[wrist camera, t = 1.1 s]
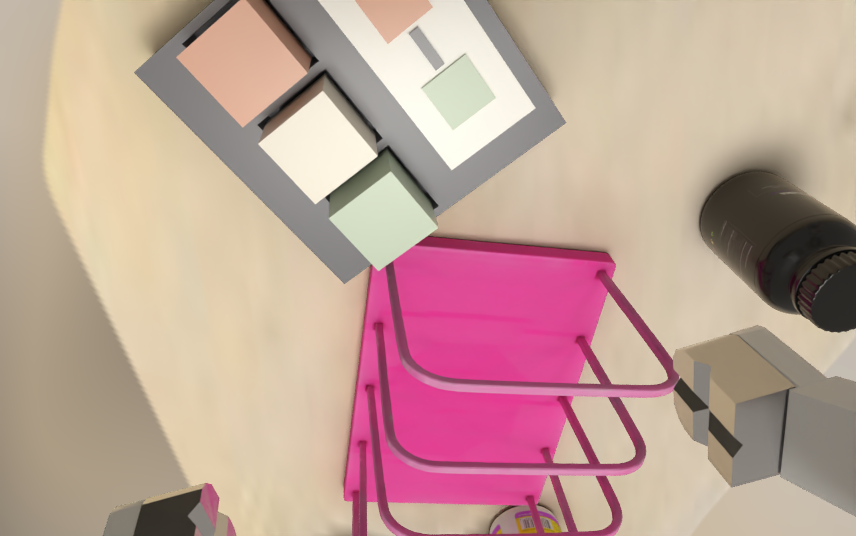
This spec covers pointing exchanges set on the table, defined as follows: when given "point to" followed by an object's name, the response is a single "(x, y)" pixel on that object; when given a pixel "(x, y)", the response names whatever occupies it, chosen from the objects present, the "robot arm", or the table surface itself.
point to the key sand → (319, 139)
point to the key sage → (382, 210)
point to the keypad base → (378, 101)
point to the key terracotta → (247, 59)
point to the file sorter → (483, 379)
